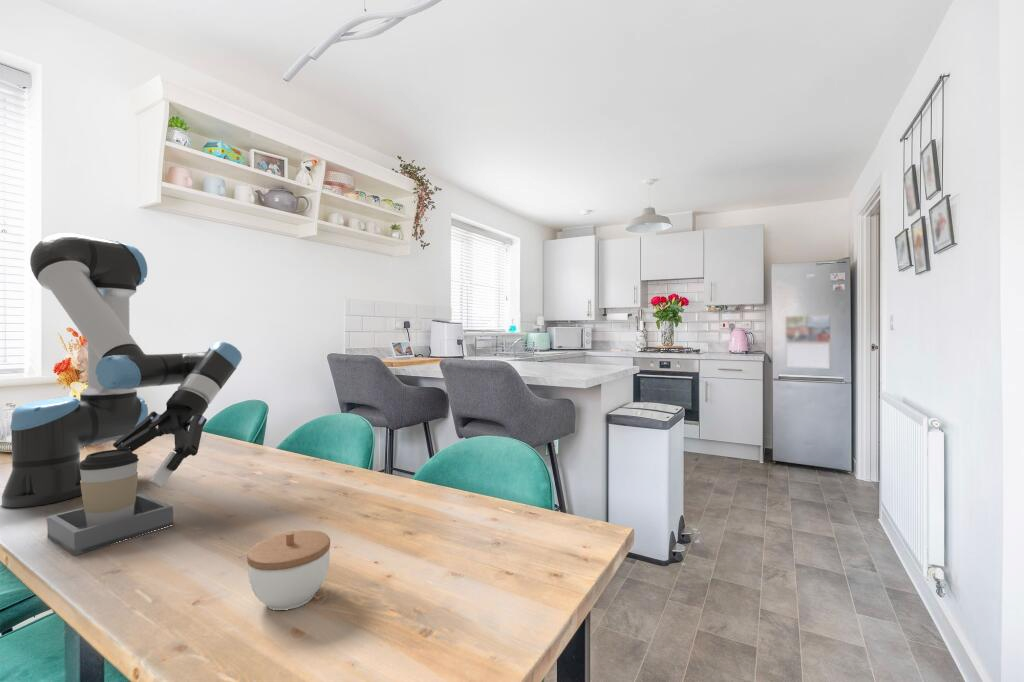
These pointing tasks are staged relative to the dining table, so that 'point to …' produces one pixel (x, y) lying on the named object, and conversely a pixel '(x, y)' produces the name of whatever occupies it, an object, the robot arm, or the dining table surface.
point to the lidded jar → (288, 568)
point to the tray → (107, 526)
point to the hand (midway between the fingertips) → (128, 482)
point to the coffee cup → (108, 485)
